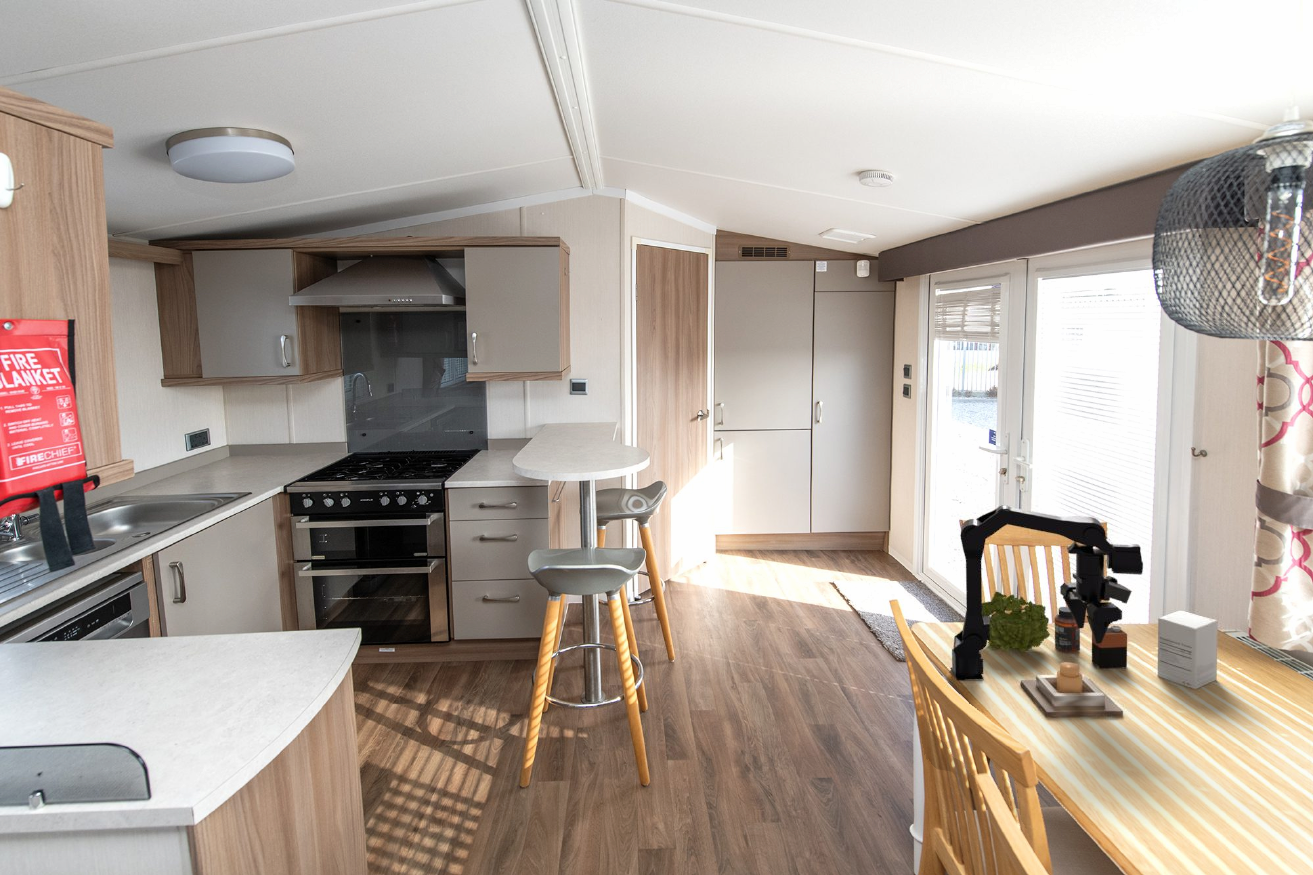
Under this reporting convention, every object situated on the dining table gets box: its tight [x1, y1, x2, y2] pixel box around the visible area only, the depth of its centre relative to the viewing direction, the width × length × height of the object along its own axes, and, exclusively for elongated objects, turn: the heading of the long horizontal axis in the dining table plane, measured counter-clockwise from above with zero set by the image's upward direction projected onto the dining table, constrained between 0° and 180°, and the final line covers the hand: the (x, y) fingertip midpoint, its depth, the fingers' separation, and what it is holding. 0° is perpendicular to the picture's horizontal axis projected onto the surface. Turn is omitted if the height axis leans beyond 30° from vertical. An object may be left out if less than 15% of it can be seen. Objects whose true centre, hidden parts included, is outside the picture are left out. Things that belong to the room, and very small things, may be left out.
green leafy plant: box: [982, 590, 1051, 654], centre depth 207 cm, size 18×16×16 cm
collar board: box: [1020, 673, 1124, 718], centre depth 179 cm, size 16×16×4 cm
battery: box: [1091, 625, 1128, 670], centre depth 194 cm, size 4×7×10 cm, turn 88°
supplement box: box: [1157, 610, 1218, 690], centre depth 184 cm, size 9×9×15 cm
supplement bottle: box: [1054, 606, 1081, 654], centre depth 205 cm, size 6×6×11 cm
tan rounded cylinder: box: [1056, 661, 1083, 693], centre depth 178 cm, size 5×5×7 cm
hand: (1089, 635), depth 182 cm, fingers open, 9 cm apart
